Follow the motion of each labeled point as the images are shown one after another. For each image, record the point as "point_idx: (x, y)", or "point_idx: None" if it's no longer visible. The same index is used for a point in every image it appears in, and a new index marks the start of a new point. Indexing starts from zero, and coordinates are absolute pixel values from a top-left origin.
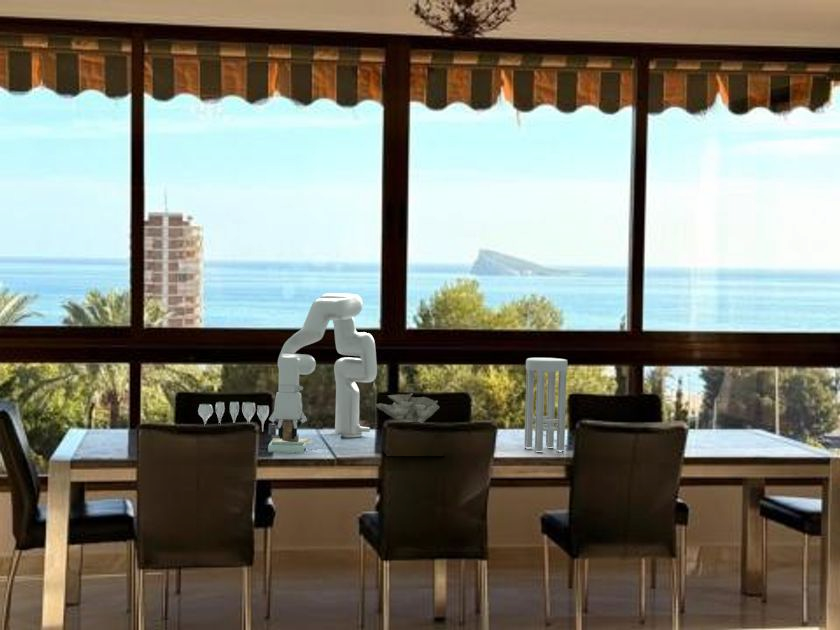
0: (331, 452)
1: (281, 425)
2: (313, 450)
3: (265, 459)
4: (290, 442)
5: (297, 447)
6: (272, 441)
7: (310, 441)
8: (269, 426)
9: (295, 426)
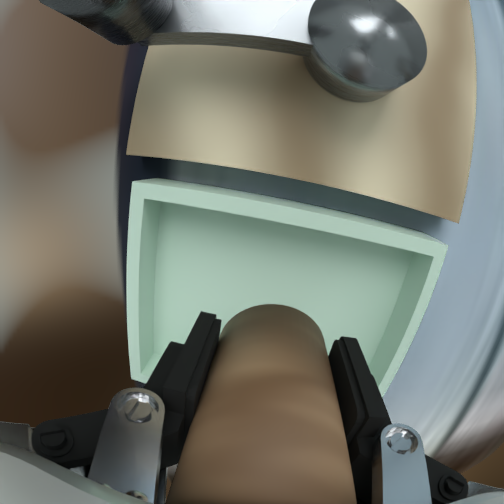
0: (489, 354)
1: (165, 447)
2: (445, 296)
3: (169, 477)
4: (315, 227)
5: None
6: (140, 188)
7: (472, 64)
8: (54, 7)
9: (356, 492)
